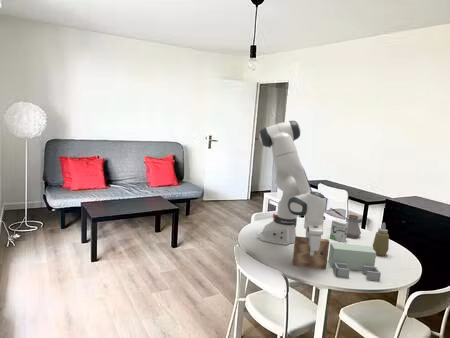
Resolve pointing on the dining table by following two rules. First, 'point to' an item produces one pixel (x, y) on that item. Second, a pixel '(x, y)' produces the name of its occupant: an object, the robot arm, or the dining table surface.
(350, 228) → the coffee pot
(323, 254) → the brown wooden block
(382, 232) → the squeeze bottle
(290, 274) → the dining table surface
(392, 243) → the dining table surface
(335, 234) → the ink box
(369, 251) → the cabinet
